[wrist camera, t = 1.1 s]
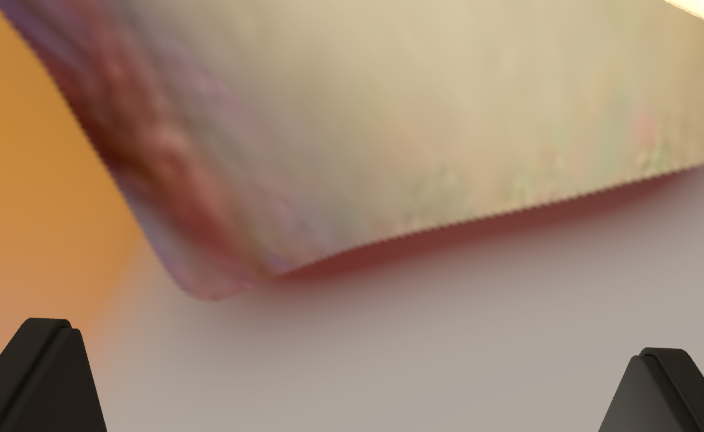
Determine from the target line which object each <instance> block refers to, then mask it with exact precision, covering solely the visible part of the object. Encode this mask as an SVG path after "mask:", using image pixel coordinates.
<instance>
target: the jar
mask: <svg viewBox="0 0 704 432" xmlns="http://www.w3.org/2000/svg"><path fill="white" fill-rule="evenodd" d="M664 1H666V2H667V3H669V4H671V5H673V6H675V7H677V8H679V9H681V10H683V11H685V12H688V13H690V14H692V15H694V16H696V17H698V18H700V19H702V20H704V0H664Z"/></svg>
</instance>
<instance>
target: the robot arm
mask: <svg viewBox="0 0 704 432" xmlns="http://www.w3.org/2000/svg"><path fill="white" fill-rule="evenodd" d="M0 432H107V429H106V425H105V422H104V418H103V414H102V410H101V406H100V403H99V399H98V395H97V391H96V387H95V384H94V380H93V377H92V372H91V369H90V365H89V361H88V357H87V354H86V350H85V346H84V342H83V338H82V335H81V332H80V330H79V329H73V328H72V327H71V324H70V322H69V321H68V320H66V319H49V318H29V319H27V320H26V321H25V322H24V323H23V324H22V325H21V326H20V328H19V329H18V331H17V332H16V333H15V335H14V336H13V338H12V339H11V340H10V342H9V343H8V345H7V346H6V348H5V349H4V350H3V352H2V353H1V354H0ZM598 432H704V377H703V375H702V374H701V372H700V371H699V369H698V368H697V366H696V365H695V363H694V362H693V360H692V359H691V357H690V356H689V355H688V353H687V352H686V351H684V350H682V349H672V348H671V349H670V348H650V347H649V348H648V347H647V348H644V349H643V350H642V351H641V353H640V354H639V356H637V355H635V356H633V357H632V358H631V360H630V362H629V364H628V366H627V368H626V371H625V373H624V375H623V378H622V380H621V382H620V384H619V386H618V389H617V391H616V393H615V396H614V398H613V400H612V402H611V404H610V407H609V409H608V411H607V413H606V416H605V418H604V420H603V422H602V425H601V427H600V429H599V431H598Z"/></svg>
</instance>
